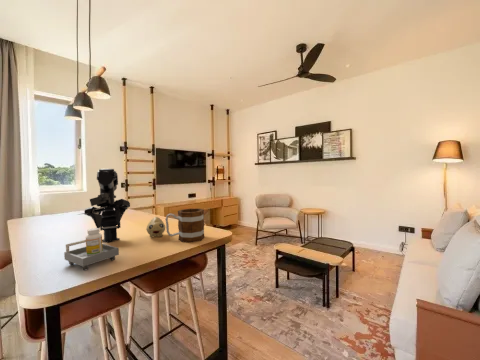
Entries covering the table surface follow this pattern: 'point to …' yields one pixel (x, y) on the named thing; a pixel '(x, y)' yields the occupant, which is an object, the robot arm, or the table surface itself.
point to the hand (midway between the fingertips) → (108, 226)
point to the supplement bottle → (94, 242)
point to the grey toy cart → (84, 260)
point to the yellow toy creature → (155, 227)
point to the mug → (189, 225)
